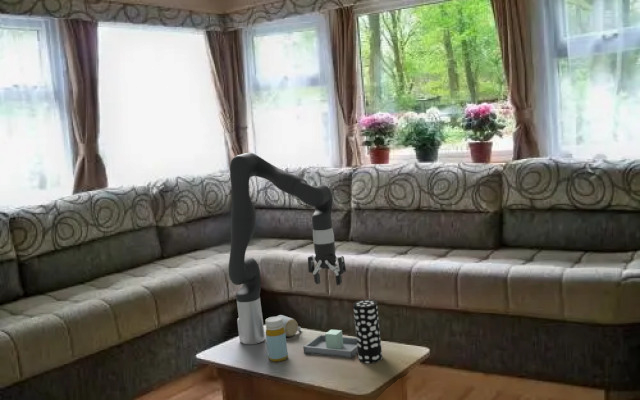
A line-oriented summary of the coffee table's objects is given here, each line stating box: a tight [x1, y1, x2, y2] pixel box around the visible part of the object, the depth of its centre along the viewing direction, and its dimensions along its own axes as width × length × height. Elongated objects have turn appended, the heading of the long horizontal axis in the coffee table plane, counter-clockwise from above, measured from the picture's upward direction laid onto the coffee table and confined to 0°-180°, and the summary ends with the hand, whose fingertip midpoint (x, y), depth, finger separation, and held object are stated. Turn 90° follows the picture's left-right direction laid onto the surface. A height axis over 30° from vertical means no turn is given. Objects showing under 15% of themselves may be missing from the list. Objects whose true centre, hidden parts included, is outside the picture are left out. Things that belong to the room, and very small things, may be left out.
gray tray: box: [302, 334, 358, 359], centre depth 240 cm, size 20×13×2 cm, turn 60°
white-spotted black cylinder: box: [352, 299, 383, 364], centre depth 227 cm, size 8×8×20 cm
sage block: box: [324, 329, 344, 349], centre depth 240 cm, size 5×5×6 cm
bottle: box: [265, 315, 289, 363], centre depth 236 cm, size 7×7×15 cm
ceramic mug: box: [277, 314, 302, 337], centre depth 262 cm, size 11×8×8 cm
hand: (328, 284), depth 237 cm, fingers open, 8 cm apart
